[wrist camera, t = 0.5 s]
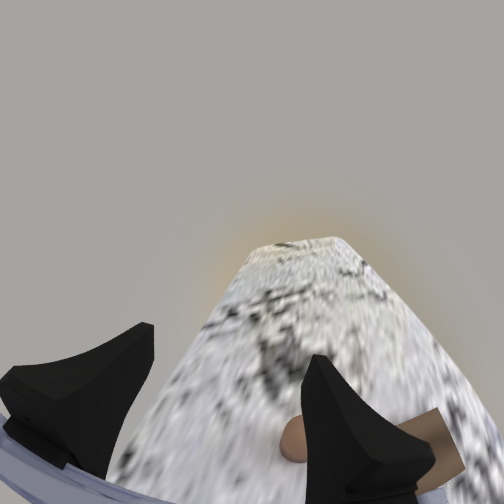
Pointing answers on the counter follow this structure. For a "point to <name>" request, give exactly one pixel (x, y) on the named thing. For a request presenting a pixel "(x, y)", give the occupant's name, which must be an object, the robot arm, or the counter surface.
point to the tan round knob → (294, 441)
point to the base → (435, 449)
